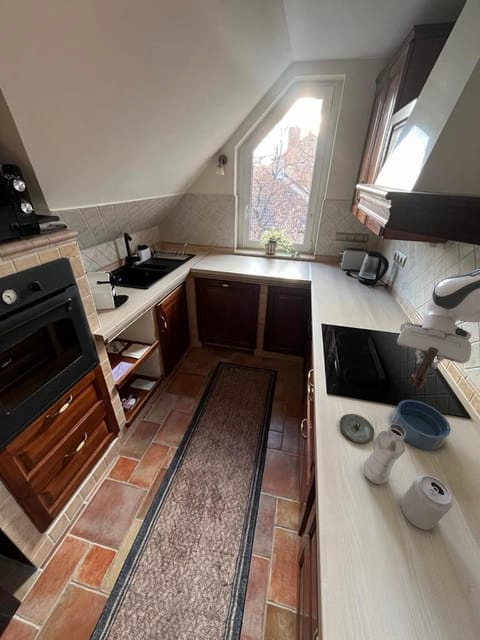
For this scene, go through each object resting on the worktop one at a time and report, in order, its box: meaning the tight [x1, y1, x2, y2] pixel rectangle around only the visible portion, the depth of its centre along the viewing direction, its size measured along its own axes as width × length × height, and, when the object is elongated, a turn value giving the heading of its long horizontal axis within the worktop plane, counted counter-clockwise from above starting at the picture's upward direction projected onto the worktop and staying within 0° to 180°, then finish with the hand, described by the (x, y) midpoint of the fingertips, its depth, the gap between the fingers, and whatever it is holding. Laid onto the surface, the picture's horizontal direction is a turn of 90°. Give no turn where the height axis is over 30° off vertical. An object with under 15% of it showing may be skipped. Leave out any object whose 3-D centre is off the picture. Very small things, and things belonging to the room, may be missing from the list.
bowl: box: [391, 399, 452, 451], centre depth 83 cm, size 15×15×6 cm
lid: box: [339, 413, 375, 444], centre depth 83 cm, size 11×10×5 cm
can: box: [399, 474, 453, 531], centre depth 61 cm, size 8×8×12 cm
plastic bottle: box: [362, 423, 406, 485], centre depth 67 cm, size 6×7×20 cm
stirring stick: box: [409, 347, 438, 389], centre depth 87 cm, size 5×5×15 cm
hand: (426, 366), depth 86 cm, fingers closed on stirring stick, 2 cm apart
